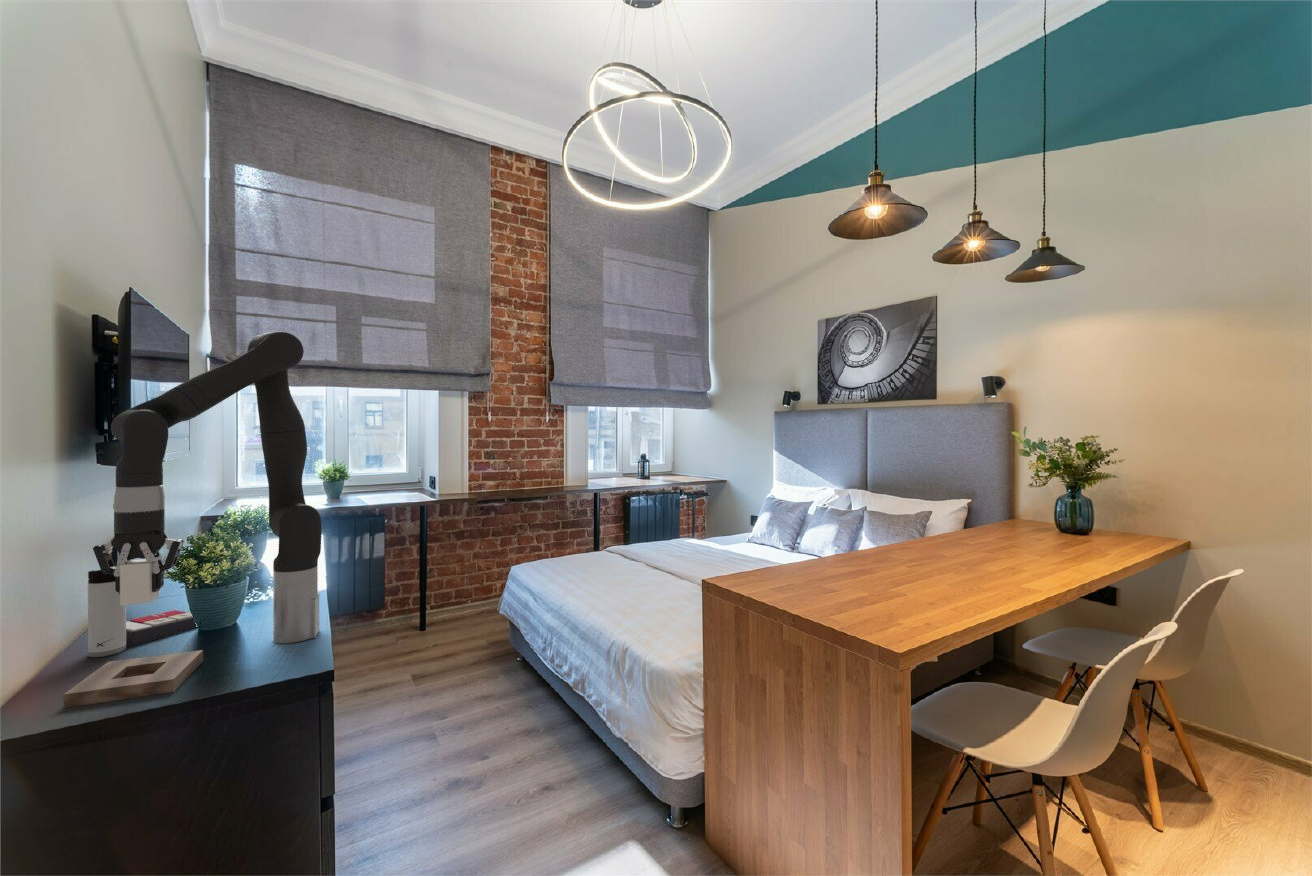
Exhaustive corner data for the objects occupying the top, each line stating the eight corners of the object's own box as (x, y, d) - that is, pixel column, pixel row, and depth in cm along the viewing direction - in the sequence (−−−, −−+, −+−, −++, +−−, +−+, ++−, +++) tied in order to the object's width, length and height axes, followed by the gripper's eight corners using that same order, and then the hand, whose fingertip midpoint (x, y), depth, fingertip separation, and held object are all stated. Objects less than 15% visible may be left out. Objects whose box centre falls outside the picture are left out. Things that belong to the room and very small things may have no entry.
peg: (158, 596, 115) (158, 558, 115) (149, 602, 111) (149, 563, 111) (130, 599, 113) (130, 560, 113) (120, 605, 109) (120, 565, 109)
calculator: (202, 613, 145) (132, 628, 131) (201, 629, 145) (131, 647, 131) (176, 608, 149) (105, 623, 135) (175, 624, 149) (103, 641, 135)
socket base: (203, 661, 122) (203, 649, 122) (173, 691, 108) (173, 679, 108) (108, 673, 116) (108, 661, 116) (63, 707, 101) (63, 694, 101)
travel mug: (103, 658, 124) (102, 569, 124) (80, 656, 125) (80, 568, 125) (134, 648, 130) (134, 563, 130) (112, 646, 131) (112, 562, 131)
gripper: (190, 504, 118) (190, 584, 118) (103, 507, 112) (103, 591, 112) (176, 508, 111) (176, 593, 111) (82, 512, 106) (82, 601, 106)
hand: (139, 591), depth 112 cm, fingers closed on peg, 4 cm apart
